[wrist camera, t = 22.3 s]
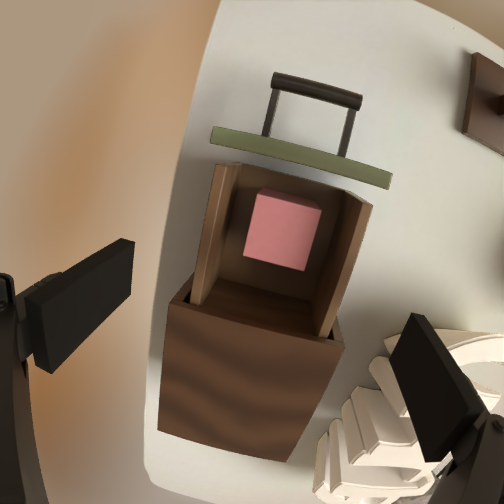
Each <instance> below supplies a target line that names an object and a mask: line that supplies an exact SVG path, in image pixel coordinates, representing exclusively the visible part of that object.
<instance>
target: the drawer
mask: <svg viewBox="0 0 504 504" xmlns="http://www.w3.org/2000/svg"><path fill="white" fill-rule="evenodd" d="M271 88H272V93H271V97H270V101H269V106H268V110H267V114H266V118H265V122H264V126H263V130H262V134H261V136H260V135H255V134H251V133H246V132H241V131H236V130H231V129H226V128H221V127H216V126H214V127H213V130H212V134H211V139H210V143H211V144H216V145H221V146H226V147H231V148H235V149H240V150H245V151H249V152H254V153H258V154H262V155H266V156H271V157H275V158H279V159H283V160H287V161H291V162H295V163H298V164H302V165H306V166H310V167H313V168H317V169H321V170H324V171H328V172H331V173H335V174H338V175H342V176H345V177H348V178H352V179H355V180H358V181H361V182H365V183H368V184H371V185H374V186H377V187H380V188H383V189H386V190H388V189H389V186H390V183H391V179H392V175H393V174H392V173H390V172H387V171H384V170H381V169H378V168H375V167H372V166H369V165H366V164H363V163H360V162H357V161H354V160H350V159H347V158H345V156H346V153H347V149H348V144H349V140H350V136H351V132H352V128H353V124H354V119H355V115H356V111H359V109H360V107H361V104H362V99H363V96H362V95H361V94H357V93H354V92H351V91H348V90H345V89H341V88H338V87H334V86H331V85H327V84H324V83H320V82H316V81H312V80H308V79H304V78H300V77H296V76H292V75H287V74H283V73H278V72H274V73H273V76H272V80H271ZM280 90H281V91H285V92H290V93H294V94H298V95H302V96H306V97H310V98H314V99H318V100H321V101H325V102H329V103H332V104H335V105H339V106H342V107H346V108H349V109H348V112H347V116H346V120H345V124H344V128H343V133H342V137H341V141H340V145H339V149H338V153H337V155H334V154H330V153H327V152H323V151H319V150H316V149H312V148H308V147H305V146H301V145H297V144H293V143H289V142H285V141H281V140H277V139H273V138H269V137H270V133H271V129H272V124H273V120H274V116H275V112H276V108H277V104H278V100H279V96H280ZM262 188H267V189H271V190H275V191H279V192H283V193H287V194H291V195H295V196H298V197H302V198H306V199H310V200H313V201H316V202H317V203H318V205H319V207H320V209H321V210H322V212H321V216H320V219H319V223H318V226H317V230H316V233H315V237H314V240H313V244H312V247H311V250H310V254H309V257H308V260H307V264H306V267H305V270H304V271H301V270H297V269H293V268H289V267H285V266H282V265H278V264H274V263H270V262H266V261H262V260H258V259H254V258H251V257H247V256H243V251H244V247H245V243H246V238H247V234H248V230H249V226H250V222H251V217H252V213H253V209H254V205H255V200H256V196H257V194H258V192H259V191H260V190H261V189H262ZM372 208H373V205H372V204H370V203H369V202H367V201H365V200H364V199H362V198H361V197H359V196H357V195H356V194H354V193H352V192H351V191H347V190H344V189H340V188H337V187H334V186H330V185H326V184H323V183H319V182H316V181H312V180H308V179H305V178H301V177H297V176H293V175H289V174H285V173H282V172H278V171H274V170H269V169H265V168H261V167H257V166H253V165H248V164H244V163H240V162H231V163H222V164H216V166H215V171H214V175H213V180H212V185H211V189H210V194H209V199H208V204H207V209H206V214H205V219H204V224H203V229H202V235H201V240H200V245H199V251H198V256H197V262H196V267H195V273H194V279H193V284H192V290H191V296H190V302H189V304H192V305H195V306H199V307H202V308H206V309H209V310H213V311H216V312H220V313H224V314H227V315H231V316H235V317H238V318H242V319H246V320H250V321H254V322H258V323H262V324H266V325H270V326H274V327H278V328H282V329H286V330H290V331H294V332H299V333H303V334H307V335H312V336H316V337H320V338H325V339H327V337H328V335H329V332H330V330H331V327H332V325H333V322H334V320H335V317H336V315H337V312H338V309H339V307H340V304H341V301H342V299H343V296H344V293H345V290H346V288H347V285H348V282H349V279H350V276H351V274H352V271H353V268H354V265H355V262H356V259H357V256H358V253H359V250H360V247H361V244H362V241H363V238H364V234H365V231H366V228H367V225H368V221H369V218H370V215H371V211H372Z"/></svg>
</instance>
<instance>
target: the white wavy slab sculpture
mask: <svg viewBox="0 0 504 504" xmlns="http://www.w3.org/2000/svg"><path fill="white" fill-rule="evenodd" d="M434 330H435V331H436V333H437V334H438V336H439V337H440V339H441V340H442V342H443V343H444V345H445V346H446V348H447V349H448V351H449V352H450V354H451V355H452V357H453V358H454V360H455V361H456V363H457V364H458V366H462V365H465V364H468V363H473V362H480V361H490V362H494V363H497V364H501V365H504V334H498V333H484V332H471V331H460V330H449V329H434ZM401 334H402V333H401ZM401 334H398V335H395V336H392V337H389V338H387V339H384V340H383V341H384V343H385V345H386V348H387V350H388V351H389V353H390V355H391V354H392V352H393V350H394V348H395V346H396V344H397V342H398V340H399V338H400V336H401ZM368 370H369V371H370V373H371V374H372V376H373V377H374V379H375V380H376V382H377V383H378V385H379V386H380V388H381V389H382V390H381V391H380V390H372V389H367V388H363V387H360V386H357V387H356V388H355V389H354V391H353V392H352V395H351V398H349V399H348V400H347V401H346V402H345V403H344V404H343V406H342V408H341V414H342V420H340V419H337V418H336V419H335V420H334V421H332V423H331V424H330V426H329V435H328V433H327V432H325V433H324V434H323V436H322V437H321V438H320V440H319V441H318V445H317V455H316V465H315V474H314V482H313V490H312V493H313V494H314V495H315V496H316V497H317V498H318V499H320V500H321V501H323V502H325V503H327V504H391V503H393V502H394V501H396V500H397V499H398V498H399V497H407V496H418V495H423V494H425V493H426V492H427V491H428V490H429V489H430V488H431V486H432V485H433V483H434V481H435V479H434V477H433V475H432V472H431V471H432V470H433V469H434V468H435V467H436V466H437V465H438V464H439V463H441V462H442V461H443V460H444V459H445V458H446V457H447V456H448V455H449V454H448V455H447V456H446V457H445V458H444V459H443V460H442V461H441V462H430V463H425V461H424V458H423V455H422V451H421V448H420V445H419V442H418V439H417V436H416V433H415V430H414V427H413V424H412V421H411V418H410V415H409V413H408V410H407V407H406V404H405V401H404V399H403V396H402V393H401V391H400V388H399V385H398V383H397V380H396V377H395V375H394V372H393V370H392V367H391V364H390V362H389V358H387V357H381V356H377V357H375V358H374V359H373V360H372V361H371V363H370V365H369V369H368ZM470 381H471V380H470ZM471 382H472V384H473V386H474V388H475V389H476V390H477V392H478V395H480V397H481V399H482V400H483V402H484V404H485V406H486V407H487V409H488V411H489V412H490V411H491V410H492V408H493V407H494V406H495V405H496V404H497V402H498V401H499V399H500V397H501V394H499V393H497V392H495V391H492V390H490V389H488V388H486V387H484V386H482V385H480V384H478V383H476V382H473V381H471ZM450 452H451V451H450ZM450 452H449V453H450Z"/></svg>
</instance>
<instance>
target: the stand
mask: <svg viewBox="0 0 504 504" xmlns="http://www.w3.org/2000/svg"><path fill="white" fill-rule="evenodd" d="M462 134H464V135H466V136H468V137H470V138H472V139H474V140H476V141H478V142H480V143H481V144H483V145H485V146H487V147H489V148H491V149H492V150H494V151H496V152H498V153H500V154H501V155H503V156H504V68H503V67H501V66H500V65H498V64H496V63H495V62H493V61H492V60H490V59H488V58H487V57H485V56H483V55H482V54H480V53H478V52H476V53H474V54H472V64H471V74H470V83H469V91H468V99H467V105H466V112H465V118H464V124H463V129H462Z"/></svg>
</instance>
